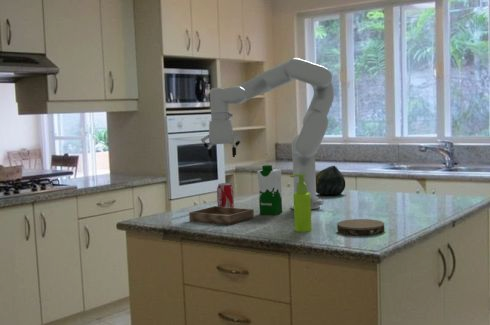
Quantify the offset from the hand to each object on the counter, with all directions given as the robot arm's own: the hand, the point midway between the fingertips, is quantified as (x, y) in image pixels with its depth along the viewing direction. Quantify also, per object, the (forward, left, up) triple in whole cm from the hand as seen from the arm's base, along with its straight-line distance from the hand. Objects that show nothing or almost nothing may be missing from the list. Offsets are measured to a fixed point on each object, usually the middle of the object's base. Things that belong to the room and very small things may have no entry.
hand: (222, 157), depth 263 cm
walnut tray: (-10, +15, -23) cm, 29 cm away
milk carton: (-20, -5, -23) cm, 31 cm away
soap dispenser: (-50, +19, -23) cm, 59 cm away
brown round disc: (-69, +11, -24) cm, 74 cm away
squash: (-17, -59, -23) cm, 66 cm away
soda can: (0, 0, -23) cm, 23 cm away
